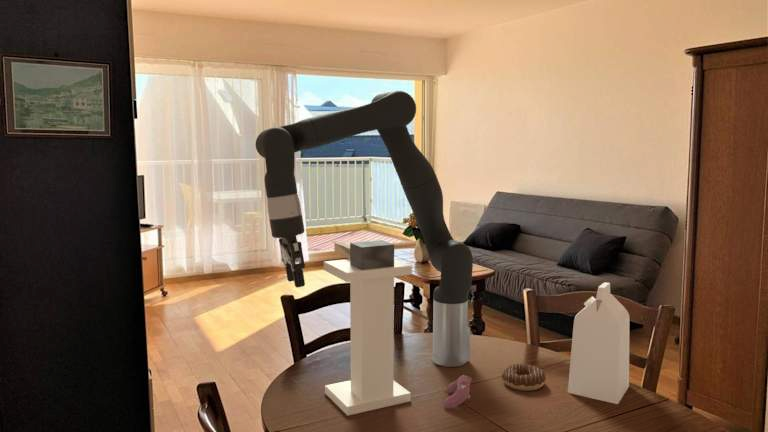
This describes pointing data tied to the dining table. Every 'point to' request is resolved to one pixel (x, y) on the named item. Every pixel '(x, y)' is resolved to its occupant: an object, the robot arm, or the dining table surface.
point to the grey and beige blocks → (367, 254)
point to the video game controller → (458, 392)
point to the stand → (369, 339)
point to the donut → (523, 377)
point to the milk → (600, 349)
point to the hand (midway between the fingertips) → (296, 283)
